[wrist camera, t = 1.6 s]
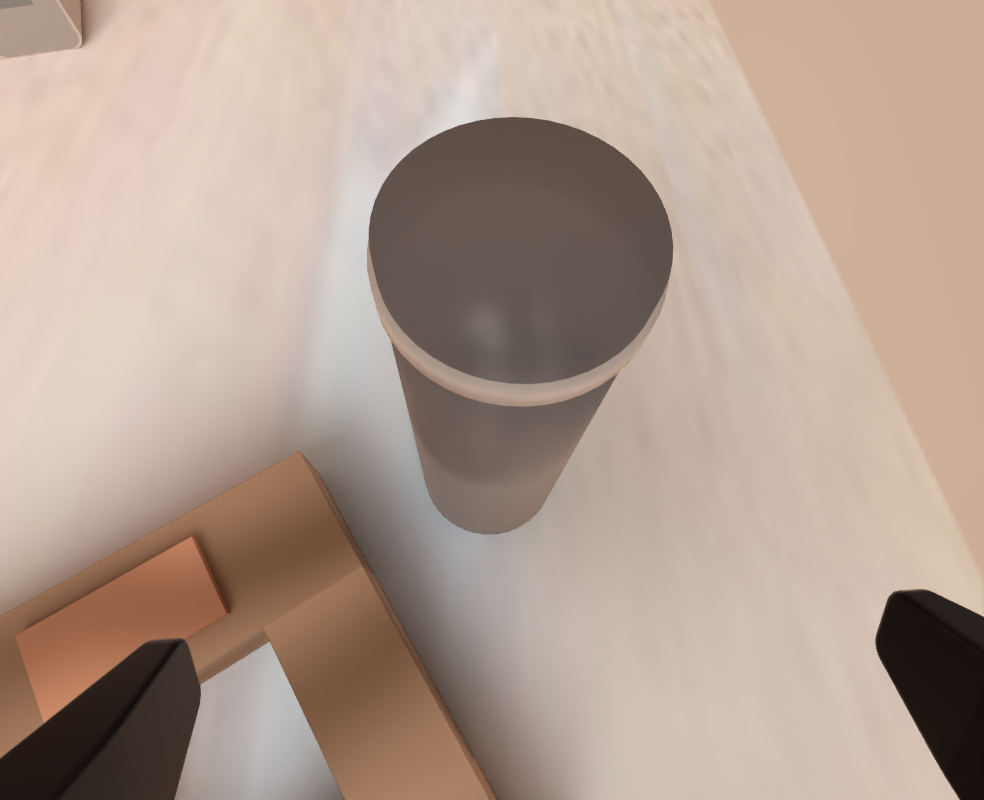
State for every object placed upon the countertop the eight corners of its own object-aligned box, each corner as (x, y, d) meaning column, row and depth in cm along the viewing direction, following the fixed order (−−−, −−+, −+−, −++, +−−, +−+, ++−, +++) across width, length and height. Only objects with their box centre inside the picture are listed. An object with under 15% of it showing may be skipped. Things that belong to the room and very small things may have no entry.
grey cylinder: (580, 490, 21) (745, 277, 8) (467, 564, 19) (471, 439, 7) (507, 386, 22) (560, 74, 10) (397, 449, 21) (305, 186, 9)
